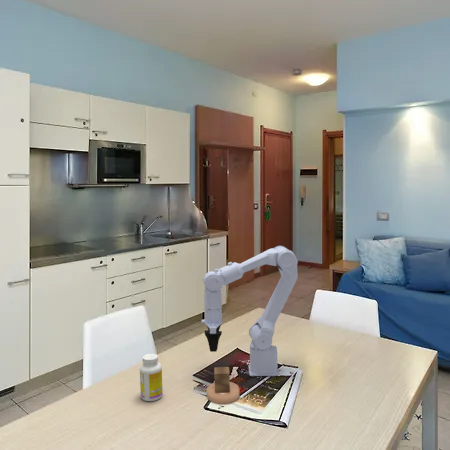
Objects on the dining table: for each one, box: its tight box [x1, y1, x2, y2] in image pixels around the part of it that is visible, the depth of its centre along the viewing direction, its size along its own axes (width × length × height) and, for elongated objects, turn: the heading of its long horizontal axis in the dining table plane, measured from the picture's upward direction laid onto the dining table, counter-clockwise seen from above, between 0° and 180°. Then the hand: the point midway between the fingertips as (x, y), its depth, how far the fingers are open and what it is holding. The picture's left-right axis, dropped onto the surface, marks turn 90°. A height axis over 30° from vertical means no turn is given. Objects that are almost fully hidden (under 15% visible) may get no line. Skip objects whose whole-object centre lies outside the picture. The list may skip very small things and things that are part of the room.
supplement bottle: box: [139, 353, 163, 402], centre depth 129 cm, size 7×7×13 cm
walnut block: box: [213, 366, 231, 393], centre depth 129 cm, size 4×4×6 cm
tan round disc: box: [206, 381, 240, 405], centre depth 129 cm, size 10×10×2 cm
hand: (213, 346), depth 142 cm, fingers open, 7 cm apart
